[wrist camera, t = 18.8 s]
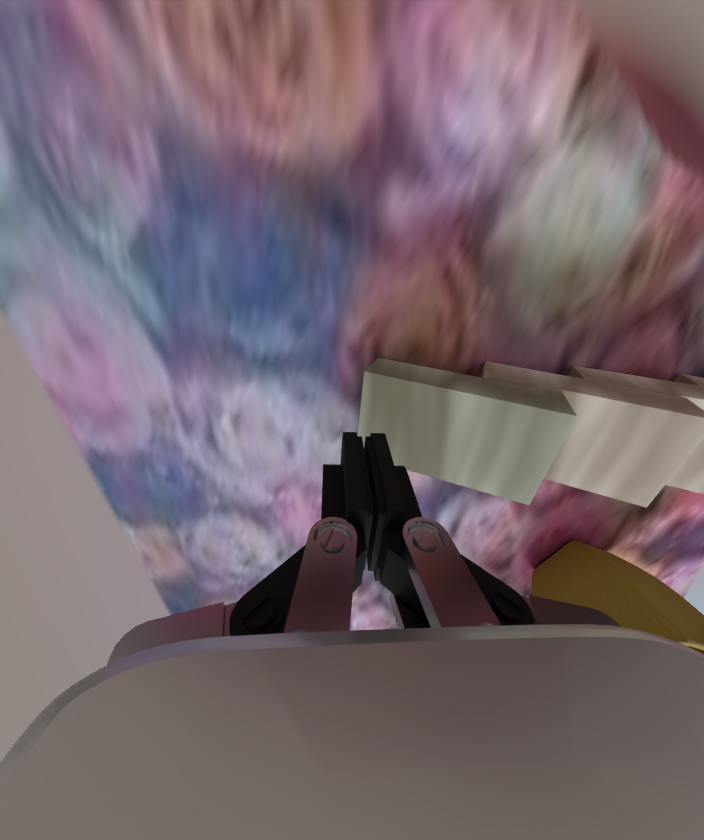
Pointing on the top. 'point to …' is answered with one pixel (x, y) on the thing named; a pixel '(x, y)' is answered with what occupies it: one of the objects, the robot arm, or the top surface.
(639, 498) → the domino
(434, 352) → the top surface
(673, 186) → the top surface
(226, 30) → the top surface
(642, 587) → the flower pot
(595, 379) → the domino
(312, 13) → the top surface
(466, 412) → the domino
